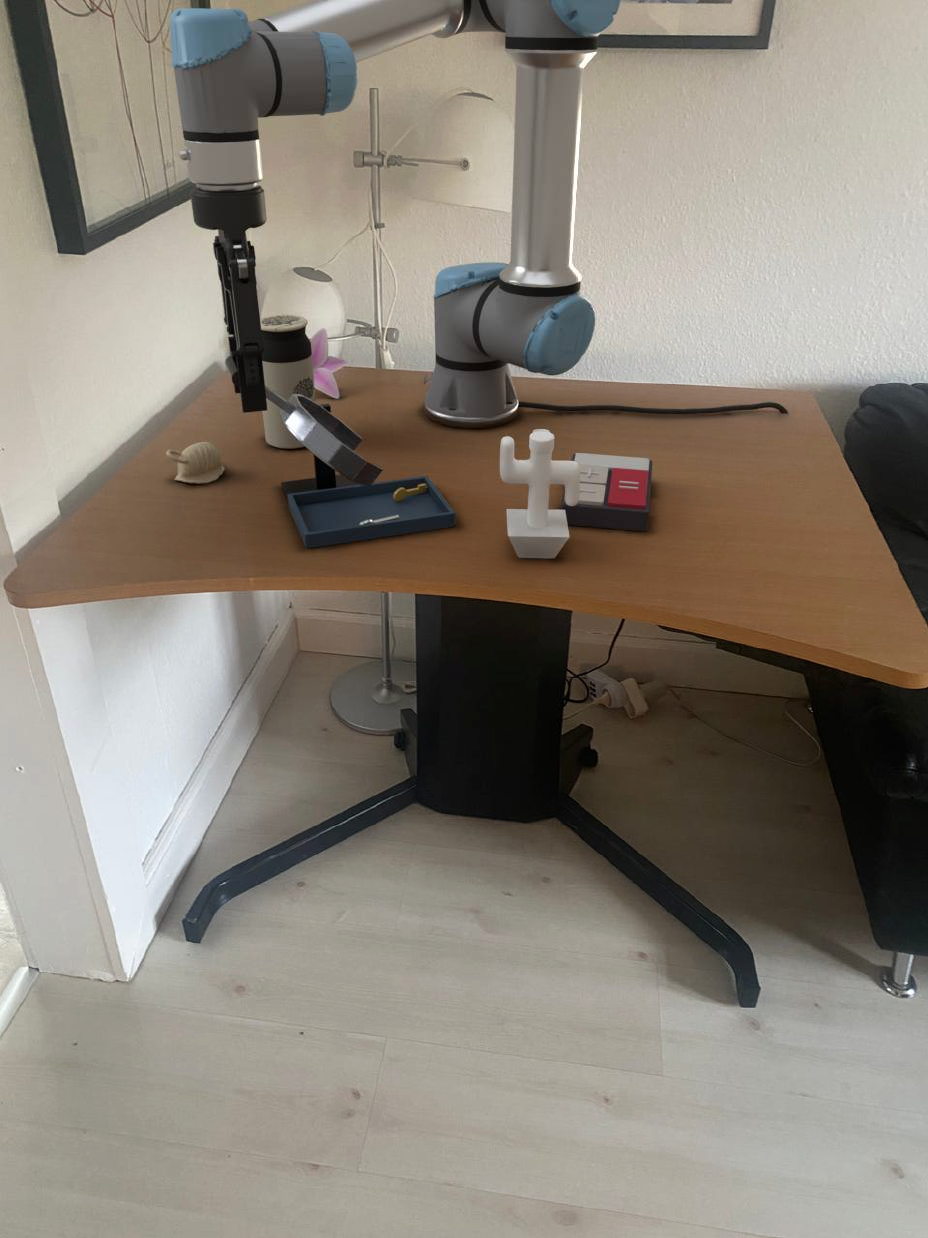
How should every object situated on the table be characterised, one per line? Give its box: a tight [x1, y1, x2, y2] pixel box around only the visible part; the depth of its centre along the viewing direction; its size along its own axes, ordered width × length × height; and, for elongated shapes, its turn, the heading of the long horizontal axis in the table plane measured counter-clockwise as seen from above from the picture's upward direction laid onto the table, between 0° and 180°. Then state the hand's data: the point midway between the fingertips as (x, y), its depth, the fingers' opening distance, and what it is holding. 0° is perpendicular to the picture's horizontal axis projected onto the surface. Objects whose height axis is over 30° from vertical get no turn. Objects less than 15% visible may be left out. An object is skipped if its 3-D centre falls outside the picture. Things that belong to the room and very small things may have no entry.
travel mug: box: [260, 314, 317, 450], centre depth 141 cm, size 8×8×18 cm
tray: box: [287, 475, 456, 549], centre depth 123 cm, size 19×12×2 cm, turn 109°
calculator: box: [560, 452, 653, 533], centre depth 127 cm, size 11×4×15 cm
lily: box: [309, 327, 348, 400], centre depth 162 cm, size 12×12×10 cm
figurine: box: [499, 428, 580, 559], centre depth 113 cm, size 7×9×15 cm
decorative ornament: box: [165, 441, 226, 485], centre depth 132 cm, size 4×8×5 cm, turn 129°
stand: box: [280, 403, 359, 503], centre depth 127 cm, size 11×5×12 cm, turn 109°
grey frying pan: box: [224, 355, 384, 487], centre depth 115 cm, size 22×15×3 cm
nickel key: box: [359, 515, 399, 525], centre depth 120 cm, size 6×2×1 cm
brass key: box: [393, 484, 428, 501], centre depth 128 cm, size 6×2×1 cm
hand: (250, 400), depth 111 cm, fingers closed on grey frying pan, 6 cm apart
